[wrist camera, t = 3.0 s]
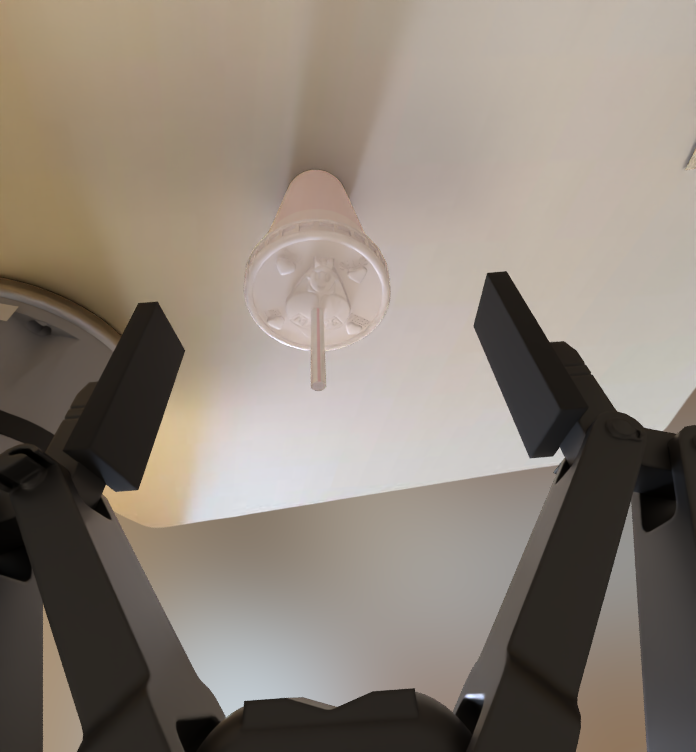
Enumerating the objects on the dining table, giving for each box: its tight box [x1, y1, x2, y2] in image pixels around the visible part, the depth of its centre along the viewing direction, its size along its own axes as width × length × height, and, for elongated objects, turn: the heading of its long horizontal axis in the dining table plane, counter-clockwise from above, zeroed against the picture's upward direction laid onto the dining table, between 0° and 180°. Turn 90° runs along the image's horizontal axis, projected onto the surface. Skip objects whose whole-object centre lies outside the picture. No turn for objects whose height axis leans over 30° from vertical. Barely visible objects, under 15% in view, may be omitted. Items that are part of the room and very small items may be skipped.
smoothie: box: [244, 170, 390, 391], centre depth 18 cm, size 6×6×14 cm
